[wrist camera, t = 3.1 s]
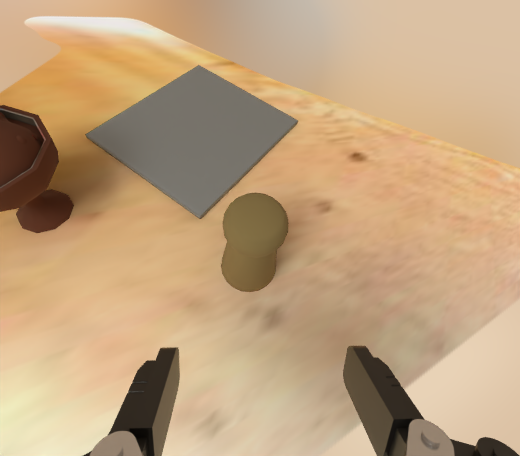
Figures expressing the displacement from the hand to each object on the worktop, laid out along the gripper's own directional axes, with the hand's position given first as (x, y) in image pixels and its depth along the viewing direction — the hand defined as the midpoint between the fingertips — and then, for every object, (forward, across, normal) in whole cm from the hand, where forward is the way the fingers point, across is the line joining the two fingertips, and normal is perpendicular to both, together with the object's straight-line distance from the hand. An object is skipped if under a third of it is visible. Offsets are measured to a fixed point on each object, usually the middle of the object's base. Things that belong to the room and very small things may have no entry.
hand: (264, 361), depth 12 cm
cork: (+17, 0, +3) cm, 17 cm away
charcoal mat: (+31, +7, -12) cm, 34 cm away
